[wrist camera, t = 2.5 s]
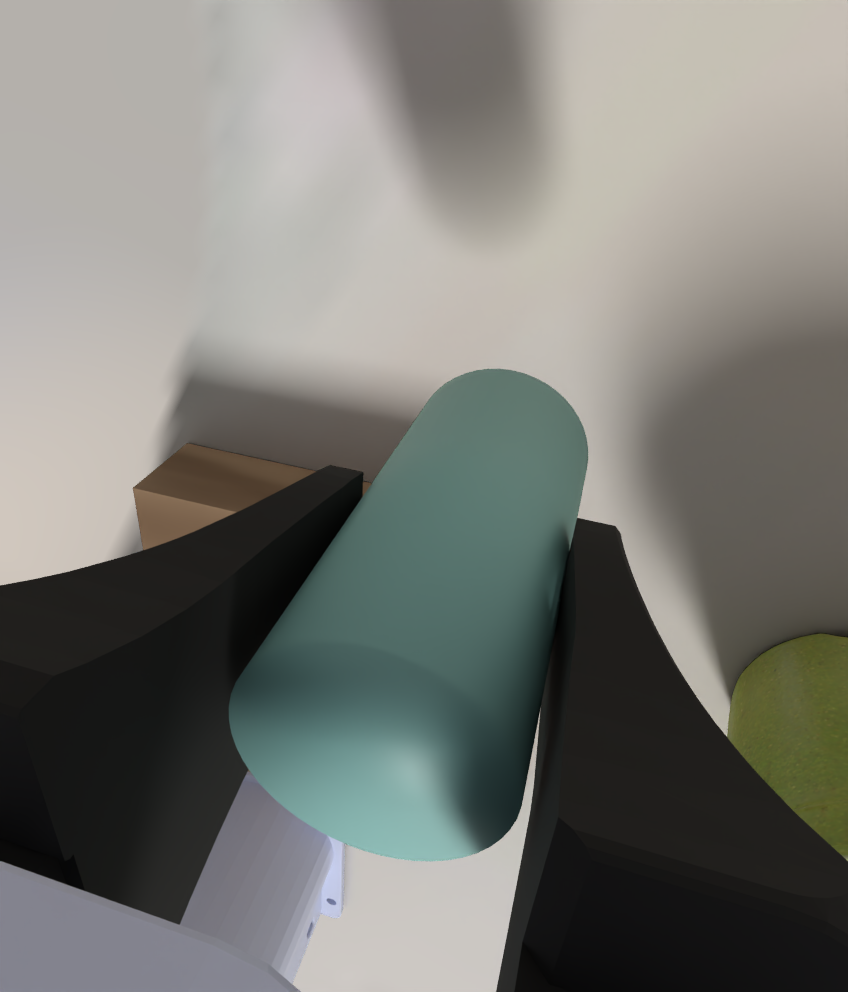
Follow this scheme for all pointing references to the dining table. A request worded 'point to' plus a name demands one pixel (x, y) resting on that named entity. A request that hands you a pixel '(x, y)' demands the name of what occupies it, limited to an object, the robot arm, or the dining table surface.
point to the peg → (425, 631)
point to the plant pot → (799, 729)
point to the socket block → (205, 490)
